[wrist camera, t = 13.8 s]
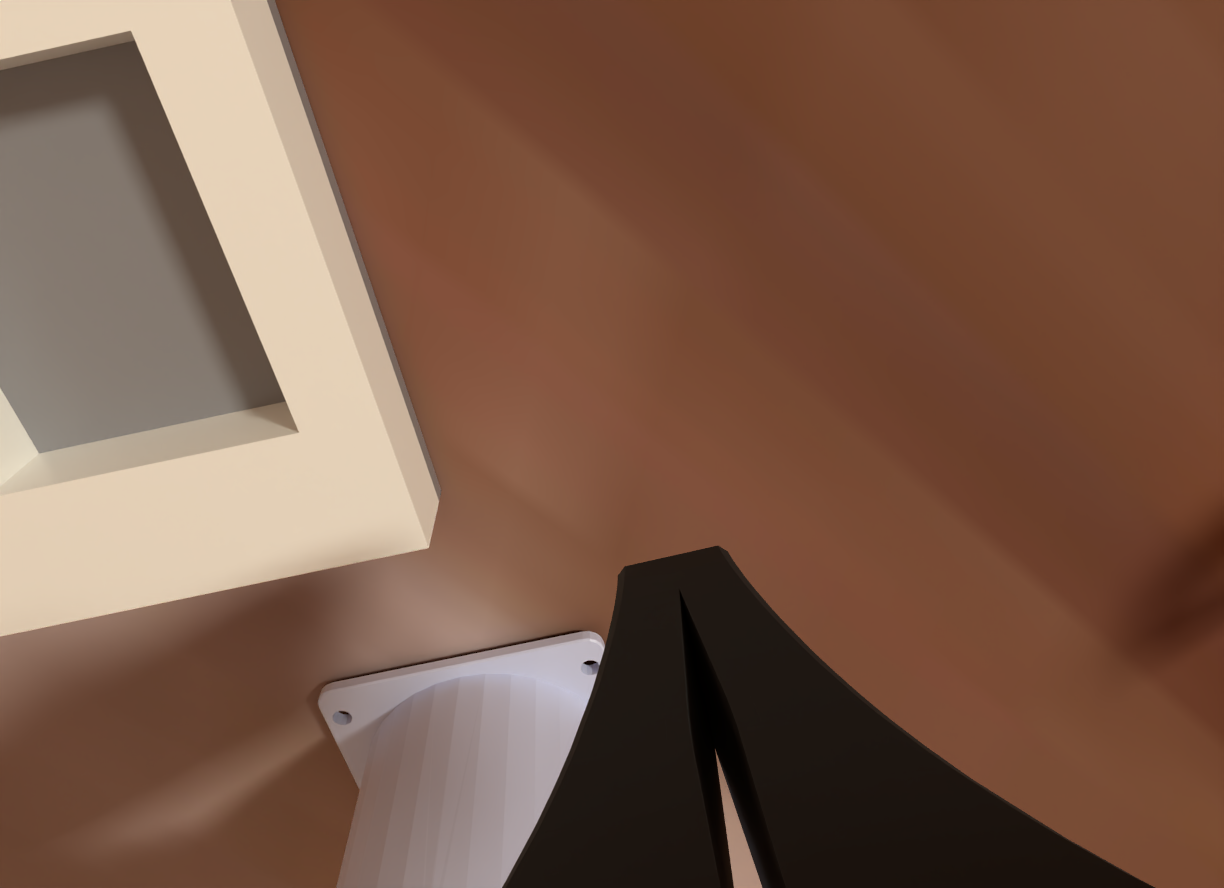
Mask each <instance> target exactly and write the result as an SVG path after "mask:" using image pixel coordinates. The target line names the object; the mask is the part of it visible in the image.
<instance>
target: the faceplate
mask: <svg viewBox="0 0 1224 888" xmlns="http://www.w3.org/2000/svg"><path fill="white" fill-rule="evenodd" d="M440 495H441V488H440V486H439V483H438V480H437V477H436V474H435V471H434V468H433V465H432V462H431V459H430V456H429V453H428V450H427V447H426V444H425V441H424V438H423V436H422V433H421V430H420V427H419V424H418V421H417V418H416V415H415V412H414V409H413V406H412V403H411V400H410V397H409V394H408V391H407V388H406V386H405V383H404V380H403V377H402V374H401V371H400V368H399V365H398V362H397V359H396V356H395V353H394V350H393V347H392V344H391V341H390V338H389V336H388V333H387V330H386V327H385V324H384V321H383V318H382V315H381V312H380V309H379V306H378V303H377V300H376V297H375V294H374V291H373V288H372V286H371V283H370V280H369V277H368V274H367V271H366V268H365V265H364V262H363V259H362V256H361V253H360V250H359V247H358V244H357V241H356V238H355V235H354V233H353V230H352V227H351V224H350V221H349V218H348V215H347V212H346V209H345V206H344V203H343V200H342V197H341V194H340V191H339V188H338V185H337V183H336V180H335V177H334V174H333V171H332V168H331V165H330V162H329V159H328V156H327V153H326V150H325V147H324V144H323V141H322V138H321V135H320V133H319V130H318V127H317V124H316V121H315V118H314V115H313V112H312V109H311V106H310V103H309V100H308V97H307V94H306V91H305V88H304V85H303V83H302V80H301V77H300V74H299V71H298V68H297V65H296V62H295V59H294V56H293V53H292V50H291V47H290V44H289V41H288V38H287V35H286V33H285V30H284V27H283V24H282V21H281V18H280V15H279V12H278V9H277V6H276V3H275V0H0V636H5V635H10V634H15V633H20V632H25V631H29V630H34V629H39V628H44V627H49V626H54V625H58V624H63V623H68V622H73V621H78V620H83V619H87V618H92V617H97V616H102V615H107V614H112V613H116V612H121V611H126V610H131V609H136V608H141V607H145V606H150V605H155V604H160V603H165V602H170V601H175V600H179V599H184V598H189V597H194V596H199V595H204V594H208V593H213V592H218V591H223V590H228V589H233V588H237V587H242V586H247V585H252V584H257V583H262V582H266V581H271V580H276V579H281V578H286V577H291V576H295V575H300V574H305V573H310V572H315V571H320V570H325V569H329V568H334V567H339V566H344V565H349V564H354V563H358V562H363V561H368V560H373V559H378V558H383V557H387V556H392V555H397V554H402V553H407V552H412V551H416V550H421V549H426V548H429V545H430V540H431V536H432V531H433V527H434V522H435V517H436V513H437V508H438V504H439V499H440Z"/></svg>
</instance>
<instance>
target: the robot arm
mask: <svg viewBox="0 0 1224 888" xmlns="http://www.w3.org/2000/svg"><path fill="white" fill-rule="evenodd" d="M588 660H594V661H596V663H595V664H593V665H586V664H583V663H584V662H586V661H588ZM318 706H319V709H320V711H321V713H322V715H323V717H324V719H325V721H326V723H327V725H328V727H329V729H330V731H331V733H332V735H333V737H334V739H335V741H336V743H337V745H338V747H339V749H340V751H341V753H342V755H343V757H344V760H345V762H346V764H347V766H348V768H349V770H350V772H351V774H352V776H353V778H354V780H355V782H356V784H357V786H358V788H359V790H360V791H359V795H358V799H357V803H356V807H355V811H354V816H353V820H352V824H351V828H350V832H349V836H348V840H347V845H346V849H345V853H344V857H343V861H342V865H341V869H340V874H339V878H338V882H337V886H336V888H734V886H733V878H732V871H731V864H730V856H729V849H728V841H727V834H726V826H725V819H724V812H723V804H722V797H721V789H720V782H719V775H718V767H717V760H716V753H715V749H716V752H717V755H718V758H719V761H720V764H721V767H722V770H723V773H724V776H725V779H726V782H727V785H728V788H729V790H730V793H731V796H732V799H733V802H734V805H735V808H736V811H737V814H738V817H739V820H740V823H741V826H742V829H743V832H744V834H745V837H746V840H747V843H748V846H749V849H750V852H751V855H752V858H753V861H754V864H755V867H756V870H757V873H758V875H759V878H760V881H761V884H762V887H763V888H1155V887H1153V886H1151V885H1149V884H1147V883H1145V882H1143V881H1141V880H1139V879H1138V878H1136V877H1134V876H1132V875H1130V874H1129V873H1127V872H1125V871H1123V870H1122V869H1120V868H1118V867H1116V866H1114V865H1113V864H1111V863H1109V862H1107V861H1106V860H1104V859H1102V858H1100V857H1098V856H1097V855H1095V854H1093V853H1091V852H1090V851H1088V850H1086V849H1084V848H1082V847H1081V846H1079V845H1077V844H1075V843H1074V842H1072V841H1070V840H1068V839H1066V838H1065V837H1063V836H1062V835H1060V834H1058V833H1057V832H1055V831H1054V830H1052V829H1050V828H1049V827H1047V826H1046V825H1044V824H1042V823H1041V822H1039V821H1038V820H1036V819H1034V818H1033V817H1031V816H1030V815H1028V814H1027V813H1025V812H1023V811H1022V810H1020V809H1019V808H1017V807H1015V806H1014V805H1012V804H1011V803H1009V802H1007V801H1006V800H1004V799H1003V798H1001V797H999V796H998V795H996V794H995V793H993V792H991V791H990V790H988V789H987V788H985V787H984V786H982V785H980V784H979V783H977V782H976V781H974V780H973V779H971V778H970V777H968V776H967V775H965V774H964V773H962V772H961V771H960V770H958V769H957V768H955V767H954V766H953V765H951V764H950V763H948V762H947V761H945V760H944V759H943V758H941V757H940V756H938V755H937V754H936V753H934V752H933V751H931V750H930V749H929V748H927V747H926V746H924V745H923V744H922V743H920V742H919V741H918V740H917V739H915V738H914V737H913V736H911V735H910V734H909V733H907V732H906V731H905V730H903V729H902V728H901V727H900V726H898V725H897V724H896V723H894V722H893V721H892V720H890V719H889V718H888V717H887V716H886V715H884V714H883V713H882V712H881V711H879V710H878V709H877V708H876V707H874V706H873V705H872V704H871V703H870V702H869V701H867V700H866V699H865V698H864V697H863V696H861V695H860V694H859V693H858V692H857V691H856V690H854V689H853V688H852V687H851V686H850V685H849V684H848V683H847V682H846V681H844V680H843V679H842V678H841V677H840V676H839V675H838V674H837V673H835V672H834V671H833V670H832V669H831V668H830V667H829V666H828V665H827V664H826V663H825V662H824V661H822V660H821V659H820V658H819V657H818V656H817V655H816V654H815V653H814V652H813V651H812V650H811V649H810V648H809V647H808V646H807V645H806V644H805V643H804V642H803V641H802V640H801V639H800V638H799V637H798V636H797V635H796V634H795V633H794V632H793V631H792V630H791V629H790V628H789V627H788V626H787V625H786V624H785V623H784V621H783V620H782V619H781V618H780V617H779V616H778V615H777V614H776V613H775V612H774V611H773V610H772V609H771V607H770V606H769V605H768V604H767V603H766V602H765V600H764V599H763V598H762V597H761V596H760V595H759V593H758V592H757V591H756V590H755V589H754V588H753V586H752V585H751V584H750V583H749V581H748V580H747V579H746V578H745V576H744V575H743V574H742V572H741V571H740V570H739V568H738V567H737V565H736V564H735V562H734V561H733V560H732V558H731V556H730V555H729V553H728V551H726V550H724V549H723V548H721V547H719V546H714V547H710V548H705V549H701V550H696V551H692V552H687V553H683V554H679V555H674V556H670V557H665V558H661V559H656V560H652V561H647V562H643V563H638V564H634V565H629V566H625V567H624V568H623V570H622V571H621V572H620V574H619V575H618V585H617V593H616V600H615V606H614V611H613V616H612V621H611V625H610V629H609V633H608V638H607V642H606V645H604V641H603V639H602V638H601V636H599V635H598V634H597V633H594V632H591V631H583V632H577V633H573V634H568V635H563V636H558V637H553V638H548V639H543V640H538V641H533V642H528V643H523V644H519V645H514V646H509V647H504V648H499V649H494V650H489V651H484V652H479V653H474V654H469V655H465V656H460V657H455V658H450V659H445V660H440V661H435V662H430V663H425V664H420V665H415V666H411V667H406V668H401V669H396V670H391V671H386V672H381V673H376V674H371V675H366V676H361V677H357V678H352V679H347V680H342V681H337V682H332V683H330V684H327V685H326V686H324V687H323V688H322V690H321V693H320V696H319V699H318ZM338 711H346V712H348V713H349V714H342V713H339V712H338Z"/></svg>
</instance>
